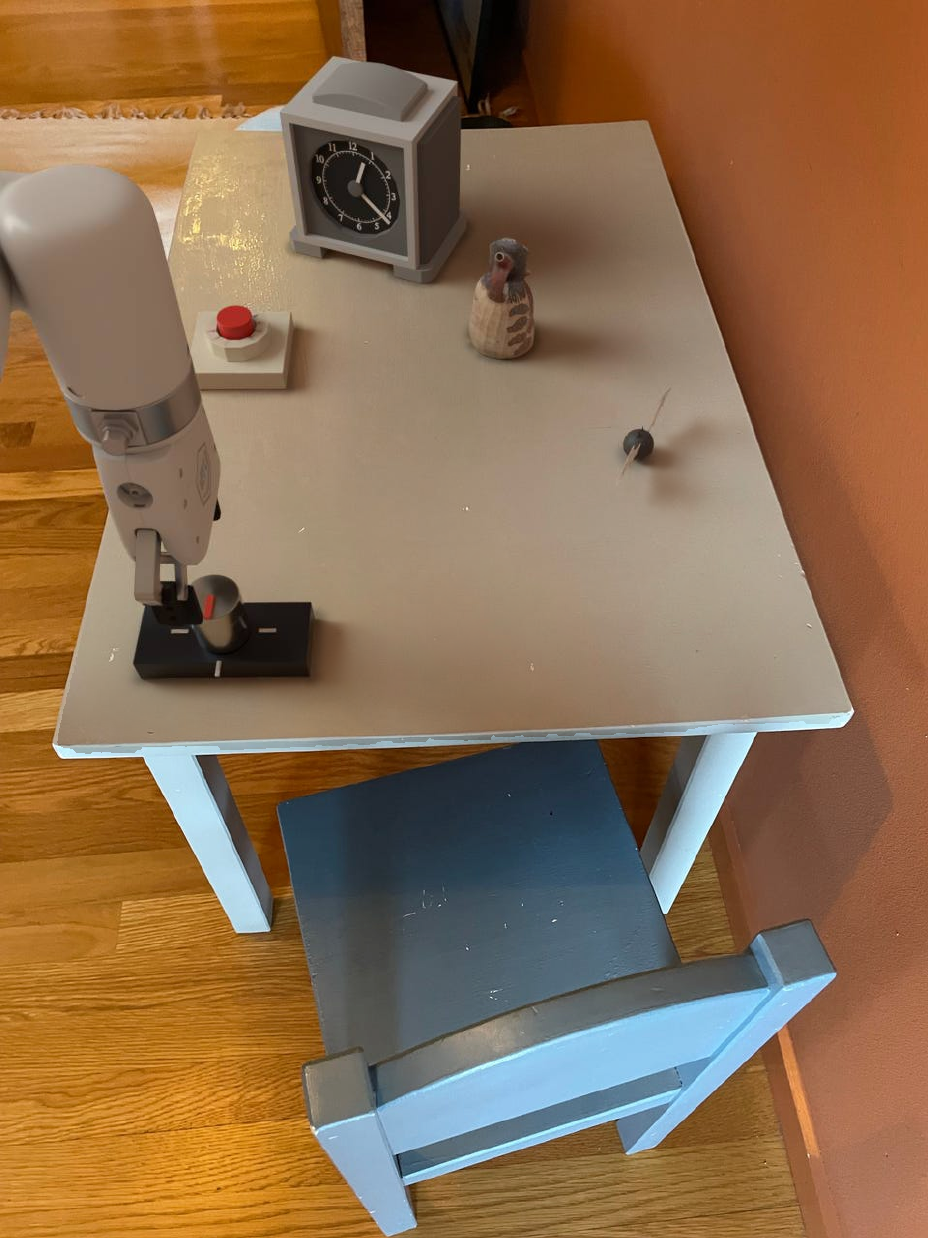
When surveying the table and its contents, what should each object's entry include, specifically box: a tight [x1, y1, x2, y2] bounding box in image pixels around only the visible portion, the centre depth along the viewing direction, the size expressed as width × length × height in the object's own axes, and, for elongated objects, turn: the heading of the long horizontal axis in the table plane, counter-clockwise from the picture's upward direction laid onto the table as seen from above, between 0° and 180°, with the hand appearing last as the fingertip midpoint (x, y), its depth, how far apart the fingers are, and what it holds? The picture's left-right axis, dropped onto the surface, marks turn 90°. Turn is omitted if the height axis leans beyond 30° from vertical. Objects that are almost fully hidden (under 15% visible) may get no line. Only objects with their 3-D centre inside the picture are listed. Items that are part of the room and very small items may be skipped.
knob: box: [189, 574, 251, 654], centre depth 73 cm, size 4×4×5 cm
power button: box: [217, 304, 255, 340], centre depth 94 cm, size 4×4×2 cm
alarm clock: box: [279, 55, 467, 284], centre depth 103 cm, size 18×13×18 cm
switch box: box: [190, 306, 295, 390], centre depth 96 cm, size 10×10×4 cm
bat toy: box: [615, 387, 672, 486], centre depth 89 cm, size 3×15×5 cm, turn 153°
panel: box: [132, 601, 316, 680], centre depth 76 cm, size 14×9×3 cm, turn 91°
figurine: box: [468, 237, 536, 360], centre depth 95 cm, size 7×7×12 cm
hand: (191, 567), depth 68 cm, fingers open, 9 cm apart
